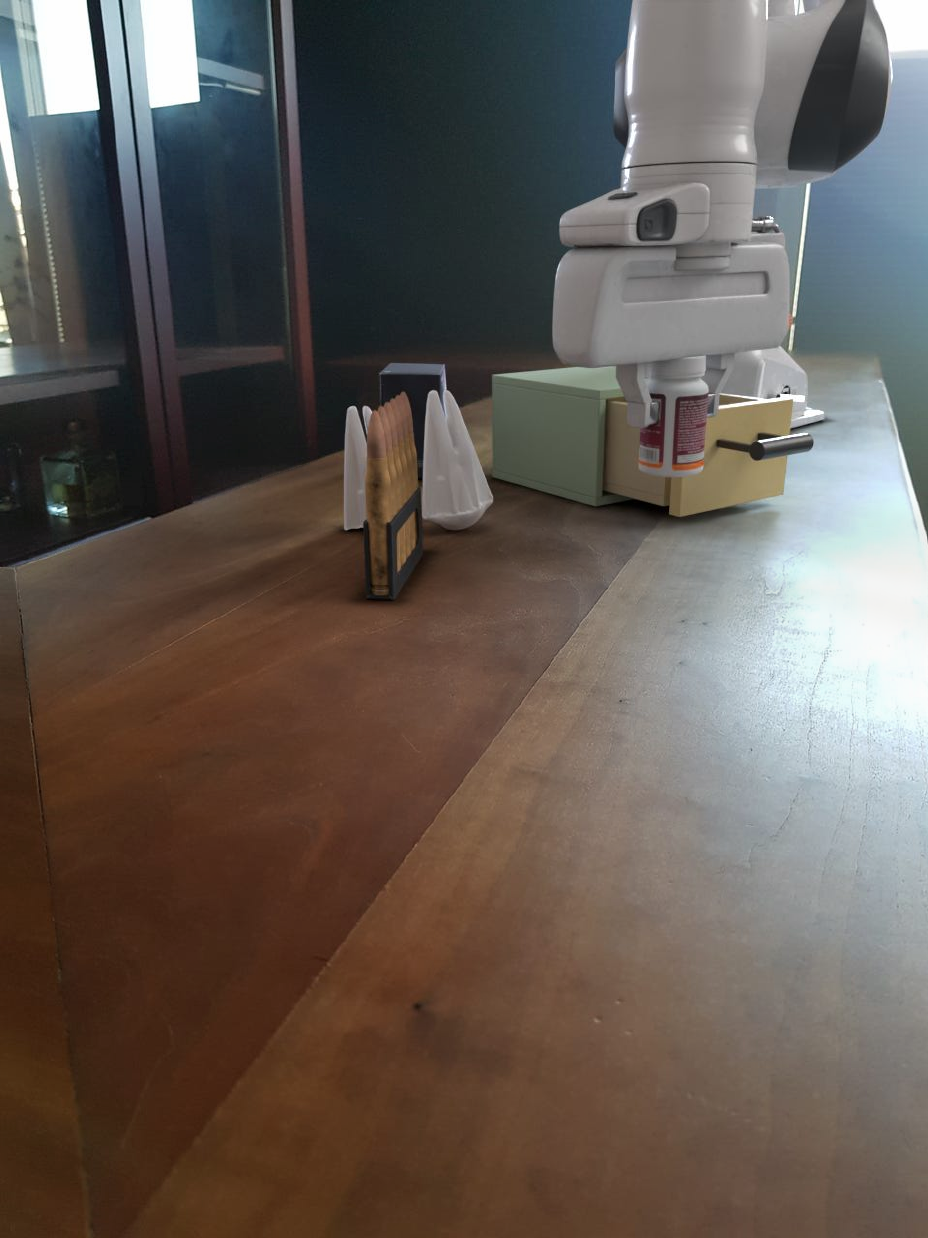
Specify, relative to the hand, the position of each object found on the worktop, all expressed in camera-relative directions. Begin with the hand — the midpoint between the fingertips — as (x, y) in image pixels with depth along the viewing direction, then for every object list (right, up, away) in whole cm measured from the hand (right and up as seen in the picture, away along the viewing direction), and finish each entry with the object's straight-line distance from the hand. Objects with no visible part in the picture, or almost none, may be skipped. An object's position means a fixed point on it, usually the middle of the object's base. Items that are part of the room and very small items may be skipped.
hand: (672, 421), depth 69 cm
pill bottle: (0, -4, +1) cm, 4 cm away
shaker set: (-19, -7, +9) cm, 22 cm away
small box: (-20, +1, +31) cm, 37 cm away
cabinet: (-2, -1, +24) cm, 24 cm away
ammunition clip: (-20, -11, -3) cm, 23 cm away
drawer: (+5, -4, +14) cm, 15 cm away
